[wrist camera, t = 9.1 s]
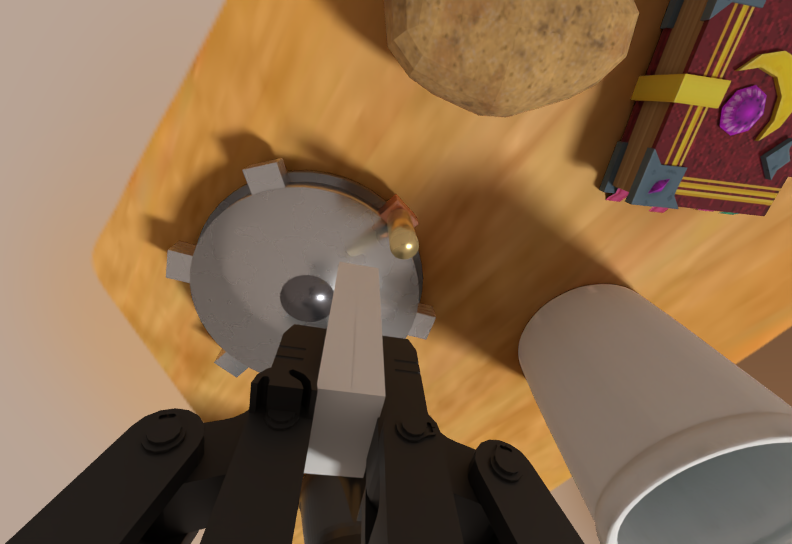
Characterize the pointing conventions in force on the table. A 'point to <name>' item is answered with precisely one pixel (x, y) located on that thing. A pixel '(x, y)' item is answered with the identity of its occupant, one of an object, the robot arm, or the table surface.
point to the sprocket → (295, 264)
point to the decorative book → (711, 111)
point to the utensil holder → (658, 424)
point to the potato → (508, 48)
